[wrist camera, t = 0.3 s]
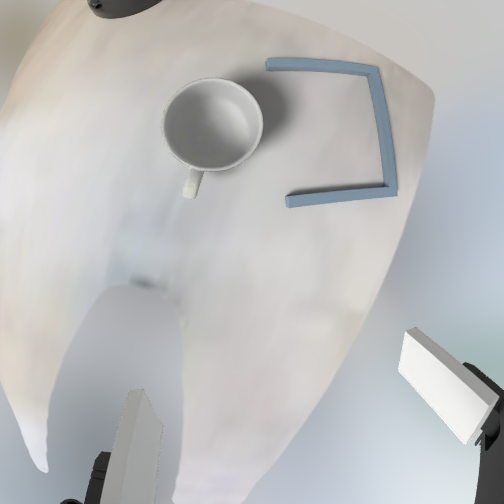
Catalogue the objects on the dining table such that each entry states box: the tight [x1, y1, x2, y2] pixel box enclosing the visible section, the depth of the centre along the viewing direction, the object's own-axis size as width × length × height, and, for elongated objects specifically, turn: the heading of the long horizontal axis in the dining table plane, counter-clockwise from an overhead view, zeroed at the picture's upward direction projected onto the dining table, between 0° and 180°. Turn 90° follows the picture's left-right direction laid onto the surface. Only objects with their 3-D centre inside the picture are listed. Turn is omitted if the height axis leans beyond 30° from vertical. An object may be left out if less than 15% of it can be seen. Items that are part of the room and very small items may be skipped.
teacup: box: [162, 78, 263, 199], centre depth 30 cm, size 14×11×8 cm
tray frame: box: [265, 58, 397, 208], centre depth 34 cm, size 22×18×2 cm
